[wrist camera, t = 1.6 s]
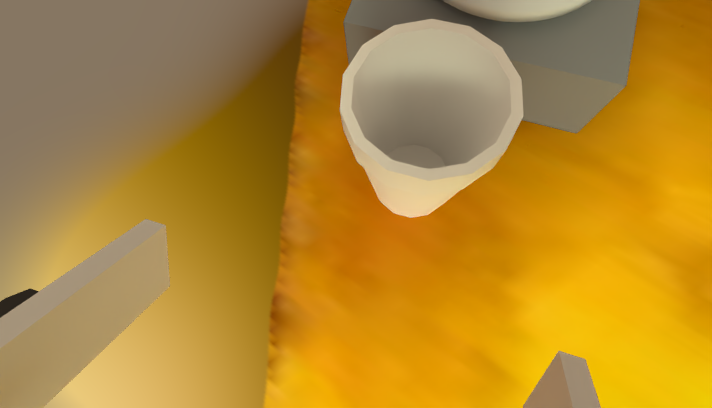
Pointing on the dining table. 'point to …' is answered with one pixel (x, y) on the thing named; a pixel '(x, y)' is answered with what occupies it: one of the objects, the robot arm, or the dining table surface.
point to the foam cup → (429, 111)
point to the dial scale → (530, 46)
